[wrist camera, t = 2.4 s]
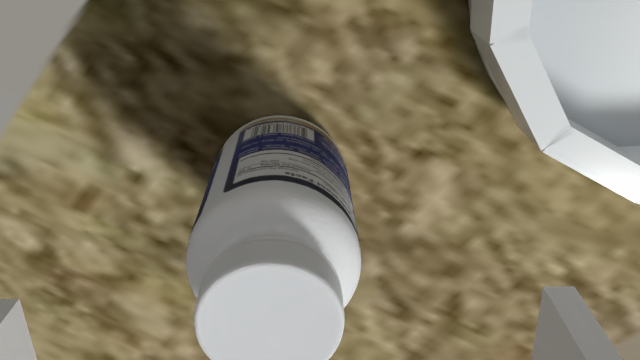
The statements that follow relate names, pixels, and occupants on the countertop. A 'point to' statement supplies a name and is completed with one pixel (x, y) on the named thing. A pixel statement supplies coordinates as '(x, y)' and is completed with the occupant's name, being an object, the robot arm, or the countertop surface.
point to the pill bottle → (274, 245)
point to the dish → (569, 80)
